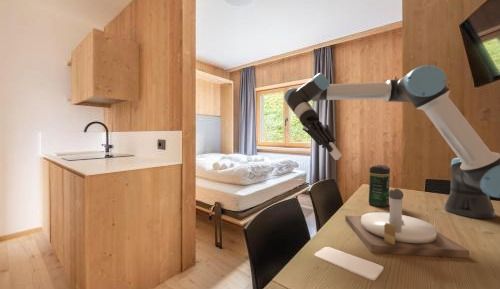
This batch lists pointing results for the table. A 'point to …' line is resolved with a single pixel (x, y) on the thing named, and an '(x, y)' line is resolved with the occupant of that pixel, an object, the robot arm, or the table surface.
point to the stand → (389, 245)
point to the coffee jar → (379, 185)
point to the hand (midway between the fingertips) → (338, 157)
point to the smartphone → (350, 262)
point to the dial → (399, 222)
